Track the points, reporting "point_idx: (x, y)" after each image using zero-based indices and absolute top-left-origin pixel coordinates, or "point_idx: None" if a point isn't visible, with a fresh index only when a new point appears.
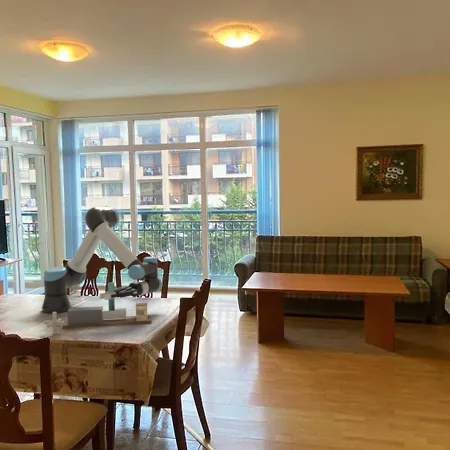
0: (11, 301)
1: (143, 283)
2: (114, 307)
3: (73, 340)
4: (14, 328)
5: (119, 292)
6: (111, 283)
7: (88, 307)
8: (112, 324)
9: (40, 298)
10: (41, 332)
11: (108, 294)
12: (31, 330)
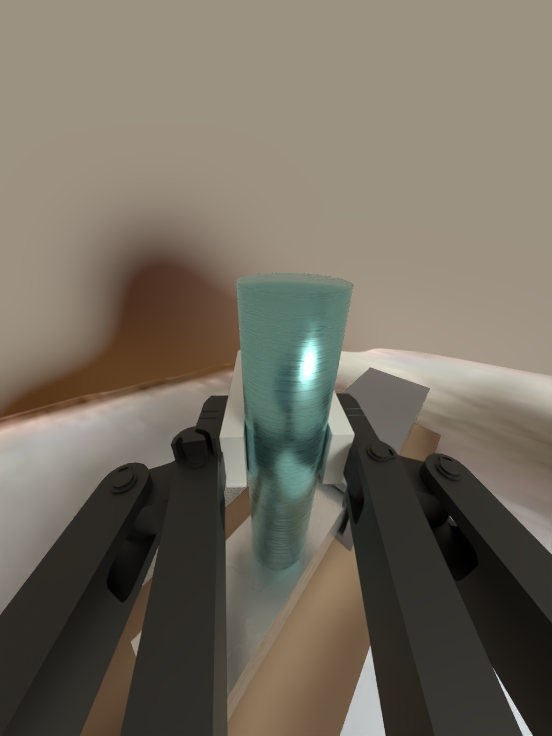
0: None
1: None
2: (252, 537)
3: (222, 372)
4: (417, 359)
5: (173, 483)
6: (249, 277)
7: (393, 430)
8: None
9: None
10: (343, 368)
11: (235, 370)
12: (377, 366)
